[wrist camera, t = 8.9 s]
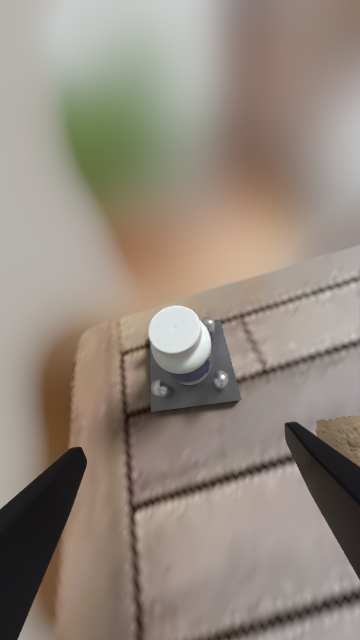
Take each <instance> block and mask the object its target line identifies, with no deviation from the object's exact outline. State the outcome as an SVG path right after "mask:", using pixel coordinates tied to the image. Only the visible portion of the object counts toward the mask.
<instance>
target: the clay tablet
mask: <svg viewBox="0 0 360 640" xmlns="http://www.w3.org/2000/svg"><path fill="white" fill-rule="evenodd" d="M316 423H317V428H316V433H317V437H318V438H320V439H321V440H323V441H324V442H326V443H327V444H328V445H330V446H331V447H333V448H334V449H336V450H337V451H338V452H340V453H341V454H343V455H344V456H346V457H347V458H348V459H350V460H351V461H353V462H354V463H355V464H357V465H358V466H360V416H349V417H342V418H340V419H339V418H336V419H334V420H332V419H329V420H328V421H325V420H319V421H317V422H316Z"/></svg>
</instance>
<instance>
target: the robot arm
mask: <svg viewBox="0 0 360 640" xmlns="http://www.w3.org/2000/svg"><path fill="white" fill-rule="evenodd" d="M285 439H286V443H287V445H288V447H289V449H290V451H291V454H292V456H293V458H294V460H295V462H296V464H297V466H298V468H299V470H300V473H301V475H302V477H303V479H304V481H305V483H306V485H307V487H308V489H309V491H310V493H311V495H312V497H313V499H314V501H315V502H316V504H317V506H318V508H319V509H320V511H321V513H322V515H323V516H324V518H325V520H326V522H327V523H328V525H329V527H330V529H331V530H332V532H333V534H334V536H335V537H336V539H337V541H338V543H339V544H340V546H341V548H342V550H343V551H344V553H345V555H346V557H347V558H348V560H349V562H350V564H351V565H352V567H353V569H354V571H355V572H356V574H357V576H358V578H359V579H360V466H358V465H357V464H355V463H354V462H353V461H351V460H350V459H348V458H347V457H346V456H344V455H343V454H341V453H340V452H338V451H337V450H336V449H334V448H333V447H331V446H330V445H328V444H327V443H326V442H324V441H323V440H321V439H320V438H318V437H317V436H316V435H314V434H313V433H311V432H310V431H309V430H307V429H306V428H304V427H303V426H301V425H300V424H299V423H297V422H286V423H285ZM86 465H87V459H86V456H85V454H84V452H83V450H82V448H81V447H73V448H71V449H69V450H68V451H67V452H66V453H65V454H63V455H62V456H61V457H60V458H59V459H58V460H57V461H55V462H54V463H53V464H52V465H51V466H50V467H48V468H47V469H46V470H45V471H44V472H43V473H42V474H40V475H39V476H38V477H37V478H36V479H35V480H33V481H32V482H31V483H30V484H29V485H28V486H27V487H26V488H24V489H23V490H22V491H21V492H20V493H19V494H18V495H16V496H15V497H14V498H13V499H12V500H10V501H9V502H8V503H7V504H6V505H5V506H4V507H2V508H1V509H0V640H17V639H18V637H19V635H20V632H21V630H22V627H23V625H24V623H25V620H26V618H27V616H28V613H29V611H30V608H31V606H32V603H33V601H34V599H35V596H36V594H37V592H38V589H39V587H40V584H41V582H42V579H43V577H44V575H45V572H46V570H47V568H48V565H49V563H50V560H51V558H52V556H53V553H54V551H55V548H56V546H57V544H58V541H59V539H60V536H61V534H62V532H63V529H64V527H65V524H66V522H67V520H68V517H69V515H70V512H71V509H72V507H73V504H74V501H75V498H76V495H77V492H78V489H79V486H80V483H81V480H82V477H83V475H84V472H85V469H86Z"/></svg>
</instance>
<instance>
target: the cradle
mask: <svg viewBox="0 0 360 640" xmlns="http://www.w3.org/2000/svg"><path fill="white" fill-rule="evenodd" d="M202 323H203V324H204V325H205V327H206V328H207V330H208V332H209V334H210V338H211V368H210V371H209V373H208V375H207V376H206V377H205V379H203V380H202V381H201V382H199V383H197V384H193V385H185V384H181V383H179V382H177V381H176V380H174V379H173V378H172V377H171V376H170V375H169V374H168V373H167V372H166V371H165V370H164V369H163V368H161V367H160V366H159V365H158V363H157V362H156V360H155V359H154V357H153V354H152V350H151V341H150V387H151V412H158V411H165V410H173V409H180V408H188V407H195V406H203V405H211V404H218V403H226V402H233V401H240V400H241V396H240V393H239V389H238V385H237V381H236V378H235V374H234V370H233V366H232V363H231V359H230V355H229V351H228V348H227V344H226V340H225V337H224V333H223V329H222V325H221V322H220V320H215V321H214V319H213V318H212V317H209V316H208V317H205V318H204V319H203V320H202Z"/></svg>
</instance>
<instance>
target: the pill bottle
mask: <svg viewBox="0 0 360 640" xmlns="http://www.w3.org/2000/svg"><path fill="white" fill-rule="evenodd" d="M148 335H149V339H150V341H151V350H152V354H153V357H154V359H155V360H156V362H157V363H158V365H159V366H160V367H161V368H163V369H164V370H165V371H166V372H167V373H168V374H169V375H170V376H171V377H172V378H173V379H174V380H176V381H177V382H179V383H181V384H185V385H193V384H197V383H199V382H201V381H202V380H203V379H205V377H206V376H207V375H208V373H209V371H210V368H211V338H210V334H209V332H208V330H207V328H206V327H205V325H204V324H203V323H202V322H201V321H200V320H199V318H198V316H197V315H196V314H195V313H194V312H193V311H192V310H191V309H189V308H187V307H183V306H170V307H167V308H164V309H162V310H161V311H159V312H158V313H157V314H156V315H155V316H154V317H153V319H152V320H151V322H150V325H149V329H148Z"/></svg>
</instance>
